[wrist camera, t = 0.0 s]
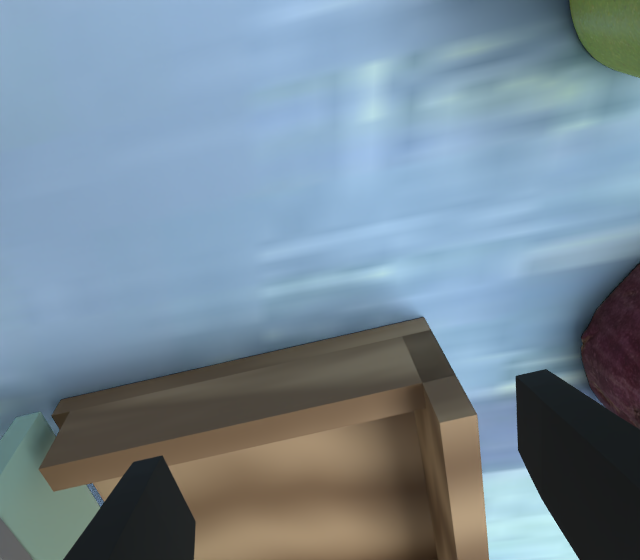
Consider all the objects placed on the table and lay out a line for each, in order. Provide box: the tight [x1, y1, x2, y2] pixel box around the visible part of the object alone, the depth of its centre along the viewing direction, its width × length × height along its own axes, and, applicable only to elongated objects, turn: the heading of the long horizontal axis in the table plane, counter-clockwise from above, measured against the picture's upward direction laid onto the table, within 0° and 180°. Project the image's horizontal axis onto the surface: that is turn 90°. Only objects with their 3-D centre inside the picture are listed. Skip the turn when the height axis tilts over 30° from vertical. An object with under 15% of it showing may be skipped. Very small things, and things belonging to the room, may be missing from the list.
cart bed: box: [39, 317, 489, 560], centre depth 22 cm, size 16×16×6 cm
